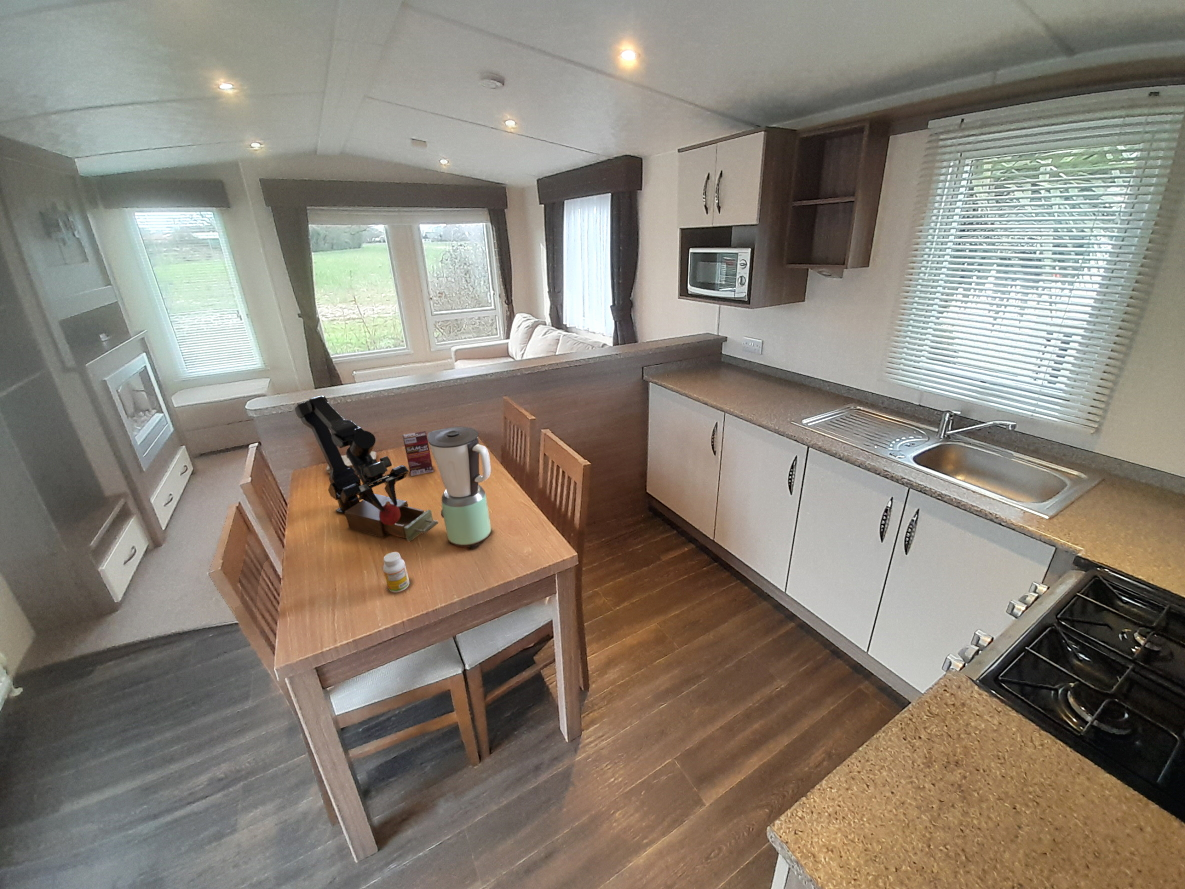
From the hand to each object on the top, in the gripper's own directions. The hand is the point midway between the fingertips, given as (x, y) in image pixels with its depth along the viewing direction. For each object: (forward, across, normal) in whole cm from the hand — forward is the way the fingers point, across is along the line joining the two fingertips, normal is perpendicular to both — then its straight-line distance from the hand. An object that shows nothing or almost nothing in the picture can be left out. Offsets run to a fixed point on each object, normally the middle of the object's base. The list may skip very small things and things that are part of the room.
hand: (389, 508), depth 137 cm
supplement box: (-16, +30, +36) cm, 50 cm away
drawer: (+6, +6, +12) cm, 15 cm away
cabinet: (-2, +2, +21) cm, 21 cm away
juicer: (+20, +16, -1) cm, 25 cm away
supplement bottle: (+21, -9, -2) cm, 23 cm away
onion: (+4, 0, +6) cm, 7 cm away
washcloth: (-36, +16, +56) cm, 69 cm away
